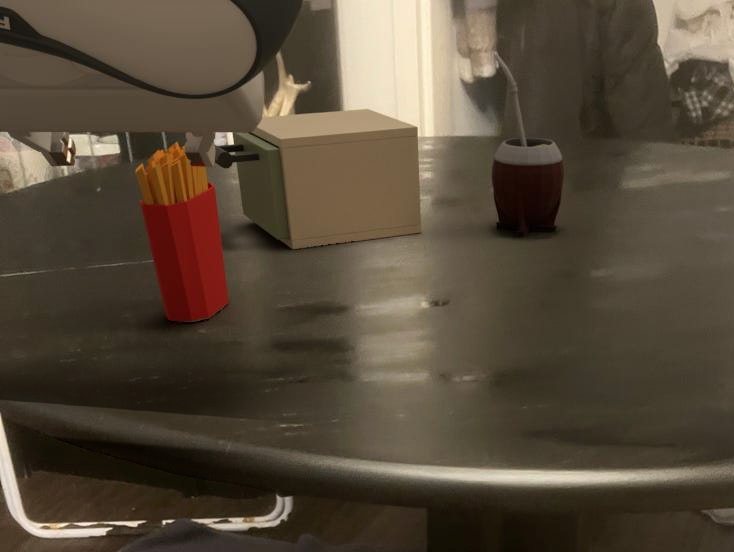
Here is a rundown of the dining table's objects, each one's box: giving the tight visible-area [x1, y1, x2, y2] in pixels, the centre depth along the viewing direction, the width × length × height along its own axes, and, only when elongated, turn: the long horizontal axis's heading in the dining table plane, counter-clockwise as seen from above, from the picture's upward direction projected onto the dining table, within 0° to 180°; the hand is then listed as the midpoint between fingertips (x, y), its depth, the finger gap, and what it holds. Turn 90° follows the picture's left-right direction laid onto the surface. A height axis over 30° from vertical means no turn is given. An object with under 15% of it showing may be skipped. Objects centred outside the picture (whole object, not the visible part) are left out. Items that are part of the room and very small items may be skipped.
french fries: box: [135, 141, 230, 321], centre depth 75 cm, size 8×4×12 cm, turn 169°
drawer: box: [215, 132, 289, 241], centre depth 96 cm, size 16×11×8 cm
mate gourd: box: [491, 53, 565, 238], centre depth 95 cm, size 8×8×15 cm
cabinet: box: [248, 108, 422, 250], centre depth 98 cm, size 14×13×10 cm
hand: (134, 157), depth 65 cm, fingers open, 8 cm apart
